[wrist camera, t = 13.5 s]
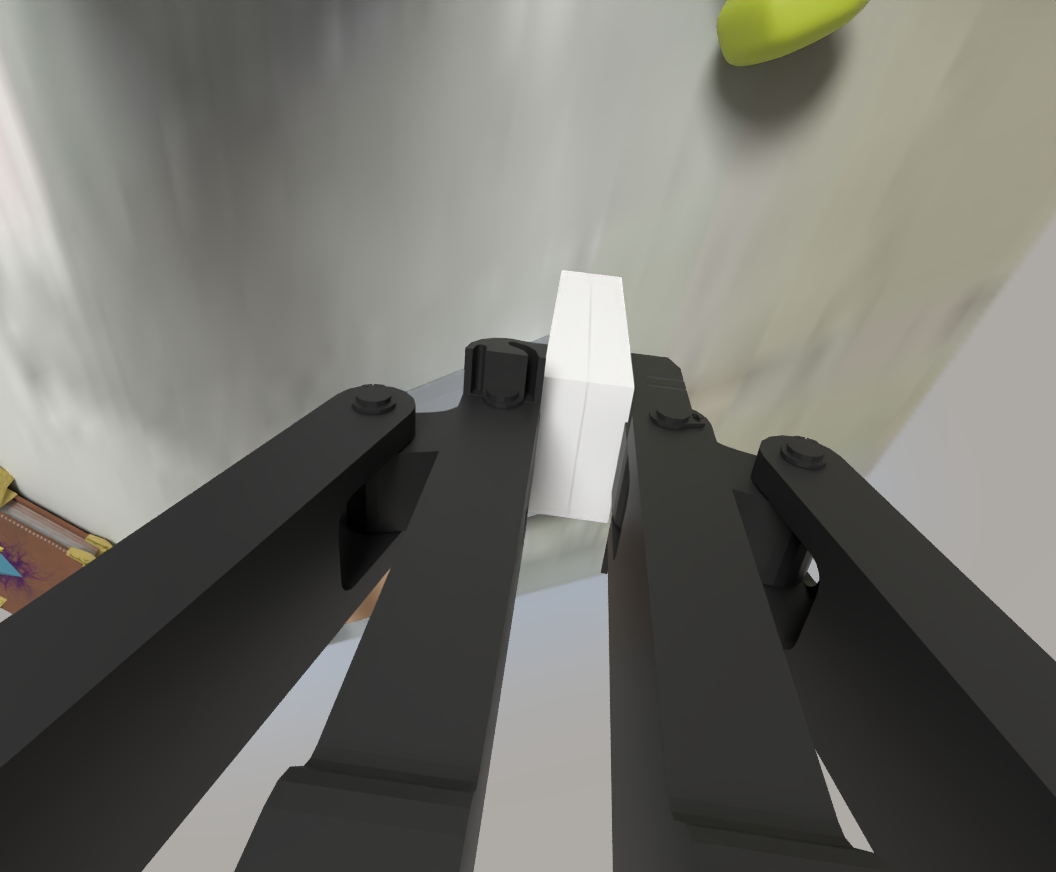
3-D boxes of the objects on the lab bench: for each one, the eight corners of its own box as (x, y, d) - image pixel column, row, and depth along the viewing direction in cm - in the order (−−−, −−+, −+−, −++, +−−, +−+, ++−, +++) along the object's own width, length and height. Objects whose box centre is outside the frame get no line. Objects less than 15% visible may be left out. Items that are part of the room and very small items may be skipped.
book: (118, 634, 71) (86, 672, 66) (-114, 513, 65) (-165, 546, 61) (167, 551, 63) (133, 588, 58) (-93, 405, 57) (-150, 434, 53)
